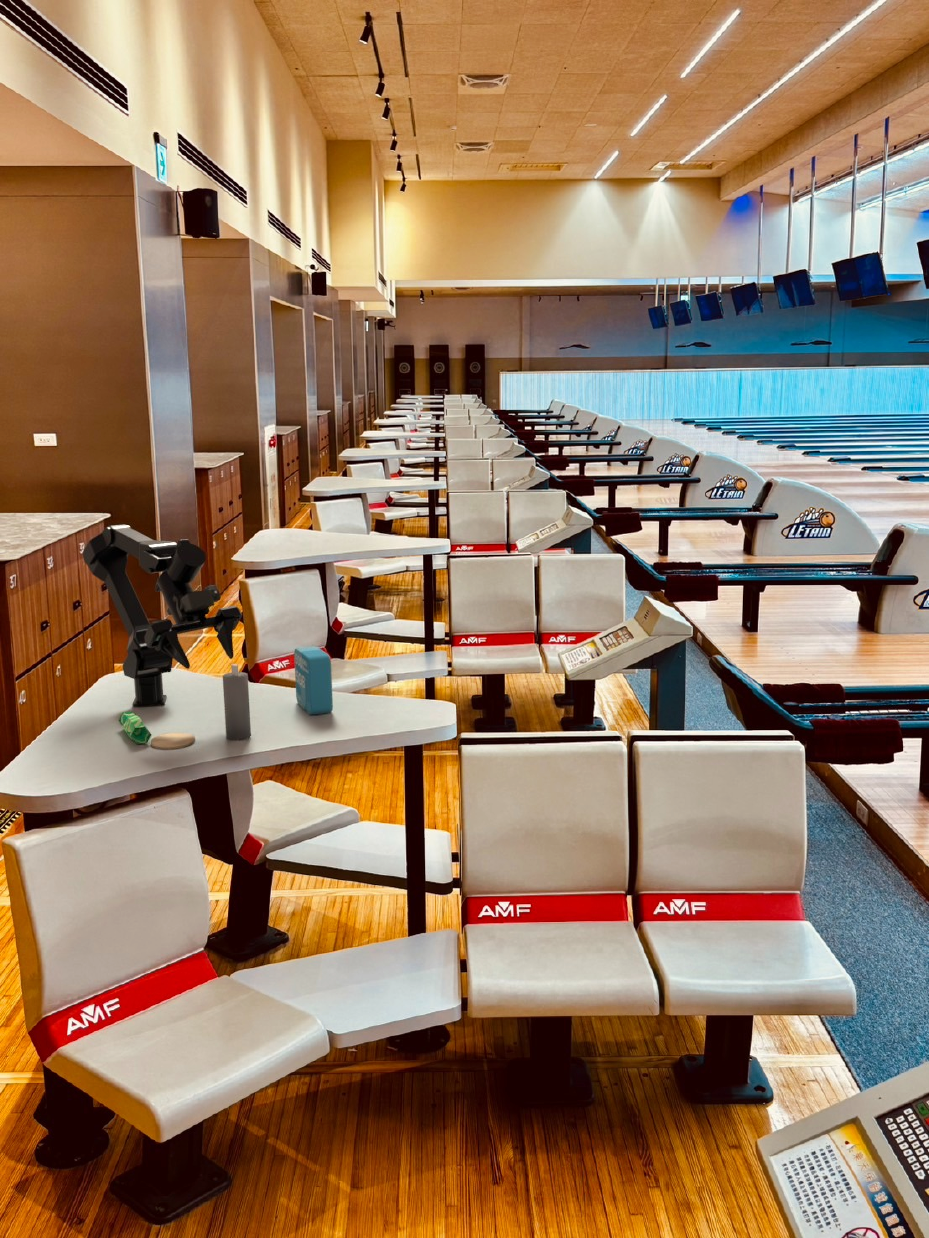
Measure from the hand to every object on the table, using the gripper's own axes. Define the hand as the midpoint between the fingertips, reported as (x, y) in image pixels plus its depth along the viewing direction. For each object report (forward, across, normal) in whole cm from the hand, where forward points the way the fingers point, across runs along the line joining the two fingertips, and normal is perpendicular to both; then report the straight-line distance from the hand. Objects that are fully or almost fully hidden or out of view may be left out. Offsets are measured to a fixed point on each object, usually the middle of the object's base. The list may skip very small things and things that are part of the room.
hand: (210, 662), depth 218 cm
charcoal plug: (+15, 0, +2) cm, 16 cm away
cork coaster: (+12, -11, +6) cm, 17 cm away
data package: (+11, +22, +9) cm, 26 cm away
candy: (+6, -14, +12) cm, 20 cm away
